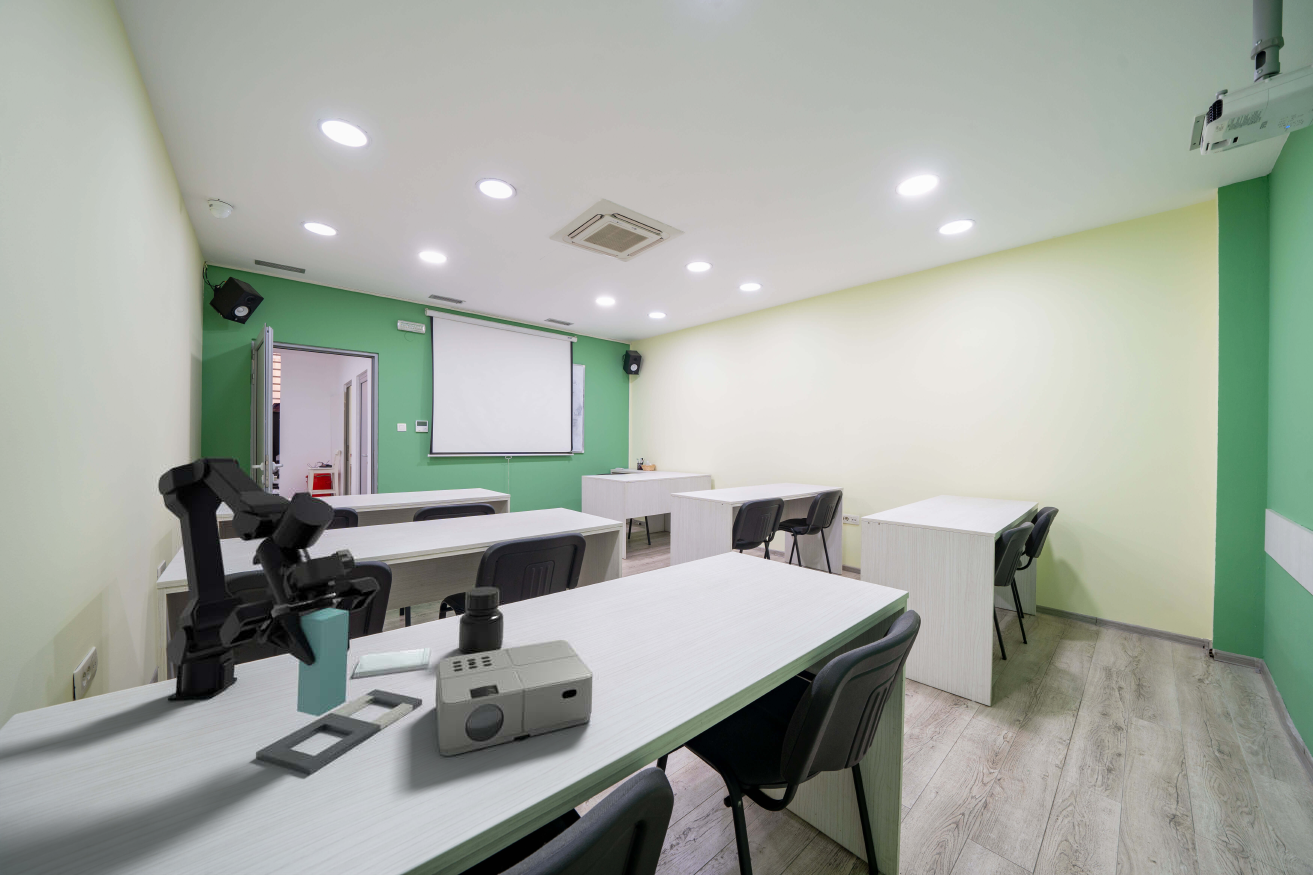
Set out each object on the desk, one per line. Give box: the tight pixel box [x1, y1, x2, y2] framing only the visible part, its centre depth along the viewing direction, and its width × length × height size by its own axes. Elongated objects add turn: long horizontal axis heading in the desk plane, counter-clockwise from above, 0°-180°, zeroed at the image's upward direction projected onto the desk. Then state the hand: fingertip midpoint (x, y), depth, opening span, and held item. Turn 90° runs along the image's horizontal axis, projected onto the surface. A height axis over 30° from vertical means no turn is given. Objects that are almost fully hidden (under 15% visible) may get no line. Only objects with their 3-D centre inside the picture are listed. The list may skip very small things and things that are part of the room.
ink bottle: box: [458, 586, 505, 655], centre depth 102 cm, size 10×9×12 cm
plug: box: [296, 608, 350, 717], centre depth 68 cm, size 4×4×13 cm
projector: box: [435, 639, 593, 757], centre depth 76 cm, size 17×22×8 cm
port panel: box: [255, 688, 423, 776], centre depth 71 cm, size 18×10×1 cm, turn 162°
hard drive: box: [352, 647, 432, 679], centre depth 93 cm, size 2×8×12 cm
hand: (330, 657), depth 67 cm, fingers closed on plug, 4 cm apart
